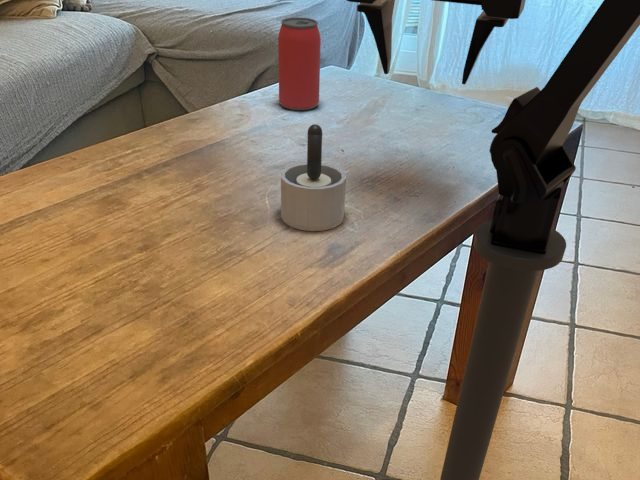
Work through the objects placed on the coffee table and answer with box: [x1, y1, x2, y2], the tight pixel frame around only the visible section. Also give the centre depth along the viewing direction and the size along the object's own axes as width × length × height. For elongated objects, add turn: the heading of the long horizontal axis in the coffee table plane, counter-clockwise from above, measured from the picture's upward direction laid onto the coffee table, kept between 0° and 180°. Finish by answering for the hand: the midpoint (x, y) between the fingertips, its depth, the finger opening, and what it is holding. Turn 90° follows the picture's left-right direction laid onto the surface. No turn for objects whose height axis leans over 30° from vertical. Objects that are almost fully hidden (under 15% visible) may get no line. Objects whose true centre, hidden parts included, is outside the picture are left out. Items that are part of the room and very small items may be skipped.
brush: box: [296, 123, 331, 187], centre depth 75 cm, size 4×4×10 cm
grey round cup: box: [280, 162, 347, 232], centre depth 77 cm, size 7×7×5 cm
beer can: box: [277, 17, 322, 111], centre depth 105 cm, size 7×7×12 cm
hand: (425, 78), depth 77 cm, fingers open, 9 cm apart
